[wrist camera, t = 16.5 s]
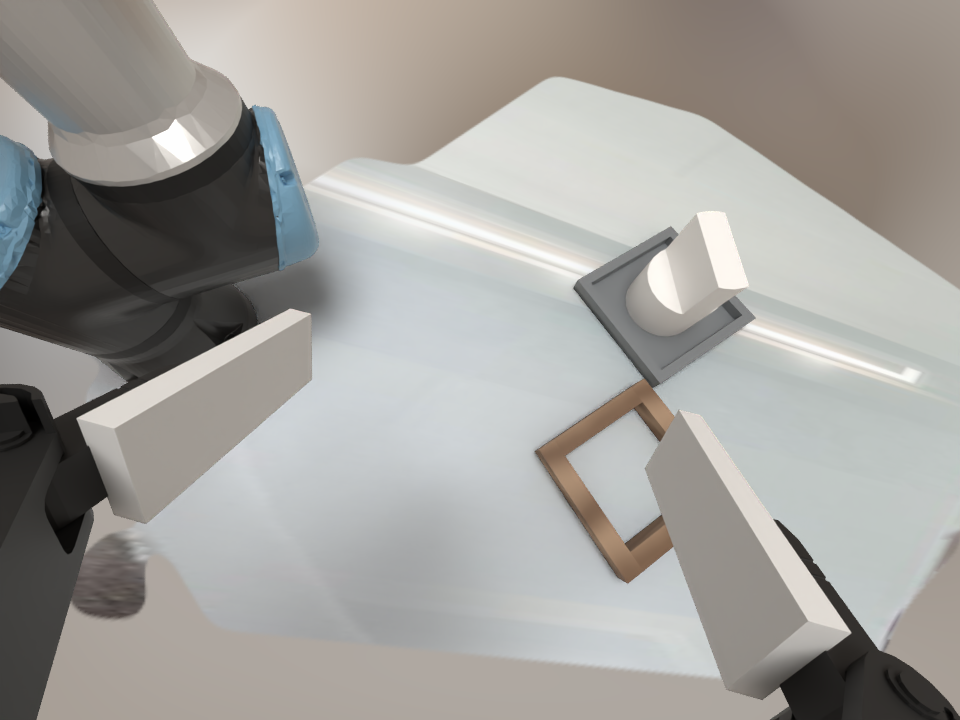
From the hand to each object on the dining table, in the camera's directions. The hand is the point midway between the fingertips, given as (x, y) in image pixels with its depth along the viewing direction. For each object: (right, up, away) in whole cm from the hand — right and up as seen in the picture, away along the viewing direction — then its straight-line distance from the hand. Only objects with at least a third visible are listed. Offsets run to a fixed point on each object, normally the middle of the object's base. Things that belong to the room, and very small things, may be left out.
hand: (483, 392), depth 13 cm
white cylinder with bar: (+23, +8, +34) cm, 42 cm away
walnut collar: (+17, -12, +28) cm, 34 cm away
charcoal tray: (+23, +8, +35) cm, 43 cm away
